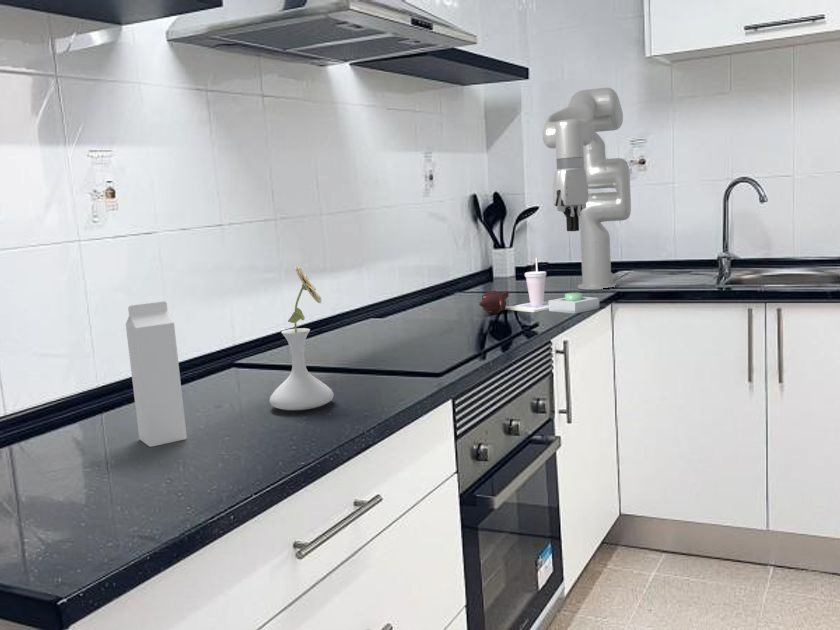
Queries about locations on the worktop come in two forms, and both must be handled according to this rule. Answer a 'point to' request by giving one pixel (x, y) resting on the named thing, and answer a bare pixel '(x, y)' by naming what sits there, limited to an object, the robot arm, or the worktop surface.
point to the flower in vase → (300, 365)
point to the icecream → (494, 301)
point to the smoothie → (536, 286)
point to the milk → (155, 374)
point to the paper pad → (529, 307)
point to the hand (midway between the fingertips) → (573, 230)
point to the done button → (573, 296)
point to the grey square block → (574, 305)
